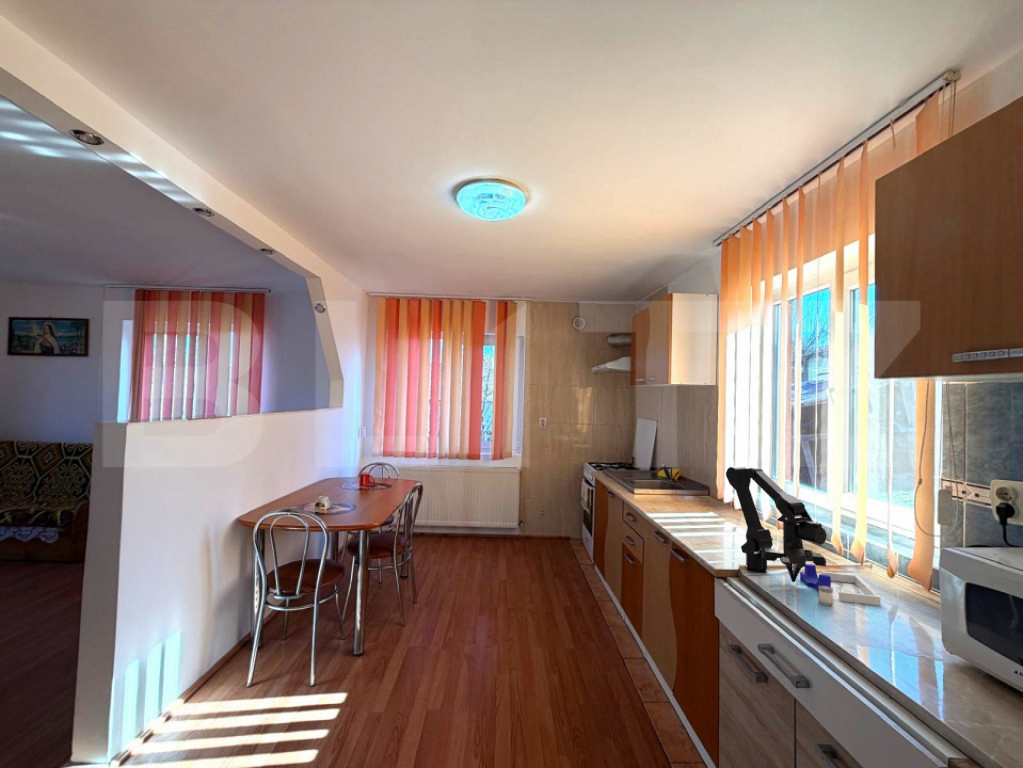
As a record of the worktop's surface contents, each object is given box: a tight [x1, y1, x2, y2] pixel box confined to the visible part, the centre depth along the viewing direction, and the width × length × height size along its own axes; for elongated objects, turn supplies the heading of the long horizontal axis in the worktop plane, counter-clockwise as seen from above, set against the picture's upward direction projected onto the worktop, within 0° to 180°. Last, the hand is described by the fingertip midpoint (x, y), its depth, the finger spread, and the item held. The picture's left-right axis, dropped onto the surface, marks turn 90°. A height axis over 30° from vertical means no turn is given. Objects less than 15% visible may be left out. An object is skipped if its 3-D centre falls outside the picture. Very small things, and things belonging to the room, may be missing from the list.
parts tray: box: [820, 570, 881, 606], centre depth 159 cm, size 11×20×3 cm, turn 161°
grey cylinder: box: [818, 585, 834, 607], centre depth 149 cm, size 4×4×5 cm
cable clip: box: [799, 563, 832, 593], centre depth 163 cm, size 12×4×6 cm, turn 171°
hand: (793, 581), depth 164 cm, fingers closed
